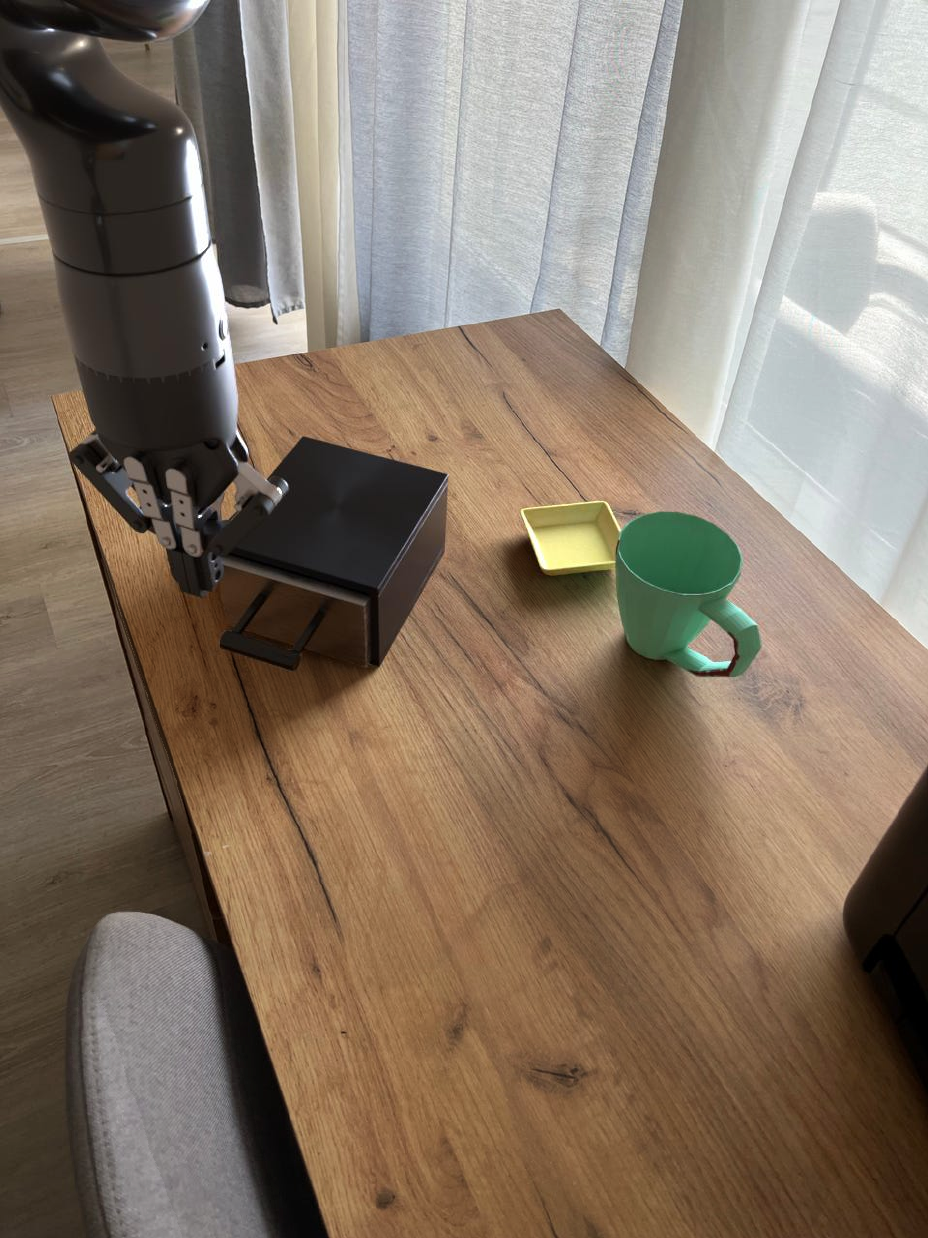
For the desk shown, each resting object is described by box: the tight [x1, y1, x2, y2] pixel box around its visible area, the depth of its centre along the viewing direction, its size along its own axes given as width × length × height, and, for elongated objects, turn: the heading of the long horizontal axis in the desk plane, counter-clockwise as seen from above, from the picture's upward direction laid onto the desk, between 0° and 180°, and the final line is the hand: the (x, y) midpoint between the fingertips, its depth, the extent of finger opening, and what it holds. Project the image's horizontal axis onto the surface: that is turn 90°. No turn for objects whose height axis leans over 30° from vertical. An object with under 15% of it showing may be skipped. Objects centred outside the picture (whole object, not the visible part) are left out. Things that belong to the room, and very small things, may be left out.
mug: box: [614, 510, 763, 678], centre depth 76 cm, size 15×10×10 cm
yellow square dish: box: [519, 500, 622, 577], centre depth 88 cm, size 9×9×2 cm
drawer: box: [218, 554, 372, 672], centre depth 78 cm, size 20×12×7 cm, turn 160°
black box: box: [229, 435, 449, 668], centre depth 81 cm, size 15×14×9 cm
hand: (200, 586), depth 59 cm, fingers closed
